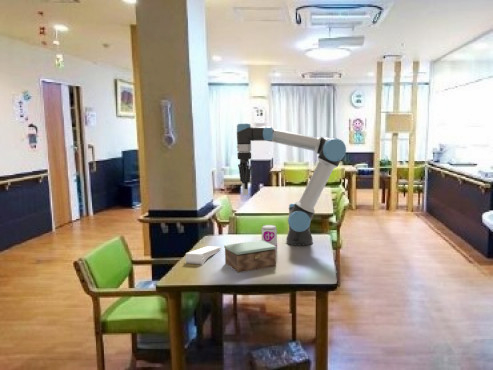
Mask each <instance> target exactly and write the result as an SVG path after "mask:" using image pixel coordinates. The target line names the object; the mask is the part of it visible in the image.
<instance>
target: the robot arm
mask: <svg viewBox="0 0 493 370" xmlns="http://www.w3.org/2000/svg"><path fill="white" fill-rule="evenodd" d="M254 141H255V142H256V141H257V142H261V141H262V142H264V141H265V142H271V143H275V144H280V145H285V146H290V147H294V148H297V149H303V150H306V151H307V150H308V151H312V152H315V154H318V156H317V159H318V162H317V165H316V167H315V169H314V170H313V173H312V175H311V177H310V179H309V181H308V183H307V186H306V188H305V190H303V193H302V194H301V195H302V196H301V197H300V200H299V201H296V202H295V203H289V204H288V218H287V223H288V227H289V230H288V231H287V232H288V233H287V235H286V244H287V245H290V246H302V247H303V246H308V245H311V244H313V236H312V233H311V230H310V225H311V221H312V219H313V217H314V215H315V213H316V211H315V206H316V205H317V203H318V200H319V198H320V196H321V194H322V192H323V190H324V189H325V187H326V185H327V183H328V181H329V179H330V177H331V174H332V172H333V170H334V169H336V168H338V166H339V164H340V163H341V161H342V159H343V158H344V157H345V156H346V153H347V152H346V151H347V147H346V143H345V142H344V141H343V140H342V139H340V138H337V137H323V136H319V137H315V136H309V135H306V134H305V135H304V134H301V133H295V132H291V131H287V130H282V129H281V130H280V129H277V128H273V127H272V126H254V127H253V126H252V125H251V123H238V124H236V145H237V146H236V148H237V160H239V163H238V164H237V167H238V171H239V172H238V173H239V181H240V182H241V185H242V188H241V189H242V190H241V191H242V196H248V195H249V183H250V182H251V171H252V167H253V166H252V165H250V160H252V142H254Z"/></svg>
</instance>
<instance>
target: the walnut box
mask: <svg viewBox="0 0 493 370" xmlns="http://www.w3.org/2000/svg"><path fill="white" fill-rule="evenodd" d="M224 255H225V256H224V257H225V258H224V261H225V262H224V263H225V265H227V266H228V267H229V268H231V269H232V270H234V271H235V272H236V273H238V274H240V273H243V272H248V271H255V270H256V271H257V270H261V269H267V268H273V267H277V256H276V255H277V253H276V250H275V249H272V250H266V251H259V252H253V253H246V254H240V255H237V254H235V253H233V252H231V251H229V250H228V249H226V248H224Z"/></svg>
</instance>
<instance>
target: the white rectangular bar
mask: <svg viewBox="0 0 493 370" xmlns="http://www.w3.org/2000/svg"><path fill="white" fill-rule="evenodd" d="M221 249H222V247H221V246H210V245H207V246H204V247H201V248H197V249H195V250H191V251H189V252H186V253H185V264H190V265H191V264H194V265H203V264H204V263H205V262H206V261H207V260H208V259H209V258H210V257H211V256H213V255H215V254H217V253H219V252H220V250H221Z"/></svg>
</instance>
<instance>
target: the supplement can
mask: <svg viewBox="0 0 493 370" xmlns="http://www.w3.org/2000/svg"><path fill="white" fill-rule="evenodd" d="M261 240H262V241H265V242H267V243H270V244H272V245H274V246H276V247H277V249H275V250H276V254H278V229H277V227H276V225H274V224H265V225H264V224H263V225H262V227H261Z"/></svg>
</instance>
